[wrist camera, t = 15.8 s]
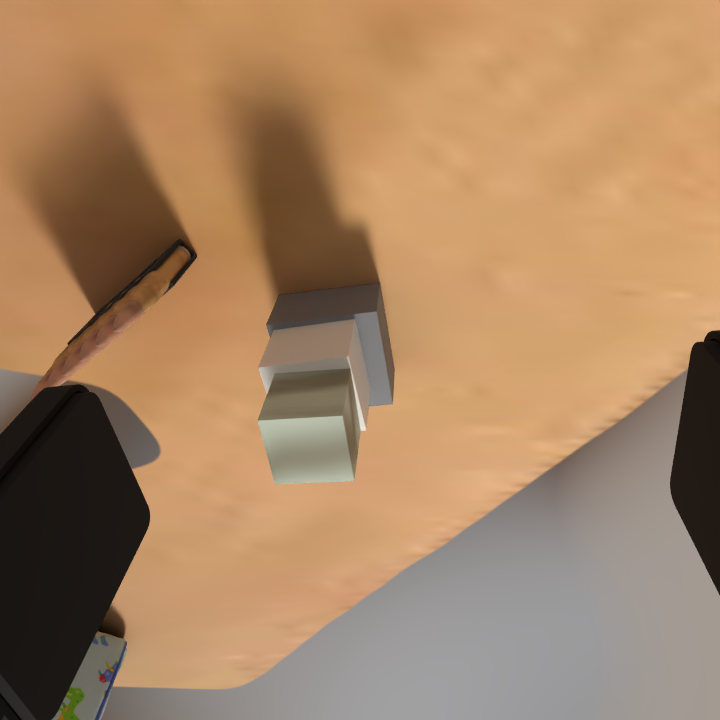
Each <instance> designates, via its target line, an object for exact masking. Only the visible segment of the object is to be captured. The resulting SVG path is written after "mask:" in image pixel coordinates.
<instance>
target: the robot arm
mask: <svg viewBox="0 0 720 720" xmlns="http://www.w3.org/2000/svg"><path fill="white" fill-rule="evenodd" d="M670 489H671V495H672V499H673V501H674V504H675V506H676V509H677V511H678V513H679V514H680V517H681V519H682V520H683V523H684V525H685V526H686V529H687V531H688V533H689V535H690V536H691V539H692V541H693V543H694V545H695V547H696V548H697V550H698V553H699V555H700V557H701V559H702V561H703V563H704V564H705V566H706V569H707V571H708V573H709V575H710V577H711V579H712V581H713V583H714V585H715V587H716V589H717V591H718V593H719V595H720V330H718V331H711V332H709V333H708V334H707V335H706V337H705V339H704V342H696V343H695V344H694V345H693V347H692V350H691V355H690V361H689V367H688V374H687V380H686V386H685V392H684V399H683V405H682V412H681V417H680V424H679V429H678V435H677V441H676V448H675V454H674V460H673V466H672V472H671V479H670ZM149 522H150V511H149V507H148V504H147V502H146V500H145V498H144V496H143V493H142V491H141V489H140V487H139V485H138V482H137V480H136V478H135V476H134V474H133V471H132V469H131V467H130V465H129V463H128V460H127V458H126V456H125V454H124V452H123V449H122V447H121V445H120V443H119V441H118V438H117V436H116V434H115V432H114V430H113V427H112V425H111V423H110V421H109V419H108V417H107V415H106V412H105V410H104V408H103V406H102V403H101V401H100V399H99V398H98V396H97V395H96V394H95V393H92V392H89V390H88V389H87V388H86V387H84V386H82V385H79V384H78V385H66V386H54V387H47V388H44V389H43V390H41V391H40V392H39V393H38V394H37V395H36V396H35V397H34V398H33V400H32V401H31V402H30V403H29V404H28V405H27V406H26V407H25V408H24V409H23V411H21V413H20V414H19V415H18V416H17V417H16V418H15V419H14V420H13V421H12V422H11V423H10V425H9V426H8V427H7V428H6V429H5V430H4V431H3V432H2V433H1V434H0V720H52V719H53V718H54V717H55V715H56V714H57V712H58V710H59V708H60V706H61V704H62V702H63V700H64V698H65V696H66V694H67V692H68V690H69V688H70V686H71V684H72V682H73V680H74V678H75V676H76V674H77V672H78V670H79V668H80V666H81V664H82V662H83V660H84V658H85V656H86V653H87V651H88V649H89V647H90V645H91V643H92V641H93V639H94V637H95V635H96V633H97V631H98V629H99V627H100V625H101V623H102V621H103V619H104V617H105V615H106V613H107V611H108V609H109V607H110V605H111V603H112V601H113V599H114V596H115V594H116V592H117V590H118V588H119V586H120V584H121V582H122V580H123V578H124V576H125V574H126V572H127V570H128V568H129V566H130V564H131V562H132V560H133V558H134V556H135V554H136V552H137V550H138V548H139V546H140V544H141V542H142V540H143V537H144V535H145V533H146V531H147V529H148V526H149Z"/></svg>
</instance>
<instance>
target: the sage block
mask: <svg viewBox="0 0 720 720" xmlns="http://www.w3.org/2000/svg"><path fill="white" fill-rule="evenodd" d="M258 424H259V427H260V431H261V435H262V438H263V442H264V446H265V449H266V453H267V456H268V460H269V464H270V467H271V471H272V475H273V478H274V482H275V484H293V483H317V482H341V481H354V479H355V471H356V463H357V455H358V447H359V439H360V430H361V429H360V423H359V417H358V411H357V405H356V399H355V393H354V387H353V380H352V374H351V368H348V369H333V370H319V371H304V372H289V373H275V374H274V377H273V380H272V382H271V385H270V388H269V391H268V394H267V396H266V399H265V402H264V405H263V407H262V410H261V413H260V416H259V418H258Z"/></svg>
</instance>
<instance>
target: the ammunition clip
mask: <svg viewBox="0 0 720 720" xmlns="http://www.w3.org/2000/svg"><path fill="white" fill-rule="evenodd" d="M196 258H197V256H196V255H195V254H194V252H193V251H192V250H191V249H190V248H189V247H188V246H187V245H186V244H185V243H184V242H183V241H182V240H181V239H179V240H177V241H176V242H175V243H174V244H173V245H172V246H171V247H170V248H169V249H167V250H166V251H165V252H164V253H163V254H162V255H161V256H160V257H159V258H157V259H156V260H155V261H154V262H153V263H152V264H151V265H150V266H149V267H147V268H146V269H145V270H144V271H143V272H142V273H141V274H140V275H139V276H137V277H136V278H135V279H134V280H133V281H132V282H131V283H130V284H129V285H127V286H126V287H125V288H124V289H123V290H122V291H121V292H120V293H119V294H117V295H116V296H115V297H114V298H113V299H112V300H111V301H110V302H109V303H107V304H106V305H105V306H104V307H103V308H102V309H101V310H100V311H99V312H97V313H96V314H95V315H94V316H93V317H92V318H91V319H90V321H89V322H88V323H87V324H86V325H85V326H84V327H83V328H82V329H81V330H80V331H79V332H78V333H77V334H76V335H75V336H74V337H73V338H72V339H71V340H70V341H69V342H68V346H67V347H66V348H65V350H64V351H63V352H62V353H61V354H60V355H59V356H58V357H57V358H56V359H55V361H54V363H53V365H52V367H51V368H50V369H49V370H48V371H47V373H46V374H45V375H44V376H43V378H42V379H41V380H40V381H39V383H38V384H37V386H36V388H35V389H34V392H33V394H32V397H31V401H32V400H33V398H34V397H35V396H36V395H37V394H38V393H39V392H40V391H41V390H43V389H44V388H47V387H54V386H60V385H61V384H63V383H64V382H65V381H67V380H68V379H69V378H70V377H71V376H72V375H73V374H74V373H76V372H77V371H78V370H79V369H81V368H82V367H83V366H84V365H85V364H86V363H88V362H89V361H90V360H91V359H92V358H93V357H94V356H96V355H97V354H98V353H99V352H101V351H102V350H103V349H104V348H105V347H106V346H107V345H108V344H109V343H111V342H112V341H113V340H115V339H116V338H117V337H118V336H119V335H120V334H121V333H122V332H123V331H124V330H125V329H127V328H128V327H130V326H131V325H132V324H133V323H134V322H136V321H137V320H138V319H139V317H141V316H142V315H143V314H144V313H145V312H146V311H147V310H149V309H150V308H152V307H153V306H154V305H155V304H156V302H157V301H158V300H159V299H160V298H161V297H162V296H163V295H164V294H165V293H166V292H167V291H169V290H170V289H171V288H172V287H173V286H174V285H175V284H176V283H177V281H178V280H179V279H180V278H181V276H182V275H183V274H184V273H185V271H186V270H187V269H188V268H189V267H190V265H191V264H192V263H193V262H194V260H195V259H196Z"/></svg>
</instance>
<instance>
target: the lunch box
mask: <svg viewBox="0 0 720 720" xmlns="http://www.w3.org/2000/svg"><path fill="white" fill-rule="evenodd" d="M126 645H127V642H126V641H125V640H124V639H122V638H118V637H115V636H113V635H110V634H106V633H102V632H99V631H97V633H96V635H95V637H94V639H93V641H92V643H91V645H90V647H89V649H88V651H87V653H86V656H85V658H84V660H83V662H82V664H81V666H80V668H79V670H78V672H77V674H76V676H75V678H74V680H73V682H72V684H71V686H70V688H69V690H68V692H67V694H66V696H65V698H64V700H63V702H62V704H61V706H60V708H59V710H58V712H57V714H56V715H55V717H54V718H53V719H52V720H100V719H101V717H102V715H103V712H104V709H105V707H106V704H107V701H108V699H109V696H110V692H111V689H112V686H113V683H114V680H115V677H116V675H117V673H118V671H119V669H120V667H121V665H122V663H123V660H124V657H125V654H126V650H127V649H126Z"/></svg>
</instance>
